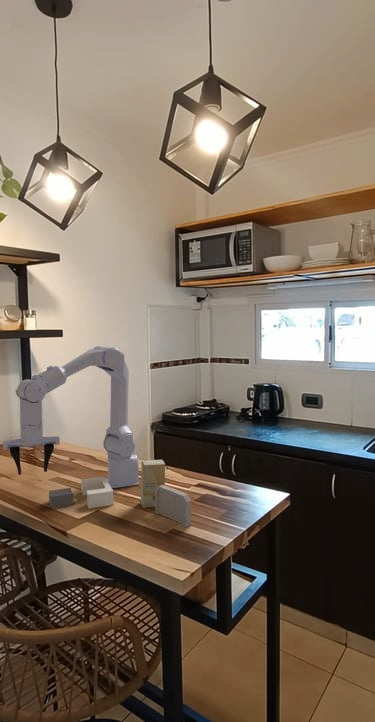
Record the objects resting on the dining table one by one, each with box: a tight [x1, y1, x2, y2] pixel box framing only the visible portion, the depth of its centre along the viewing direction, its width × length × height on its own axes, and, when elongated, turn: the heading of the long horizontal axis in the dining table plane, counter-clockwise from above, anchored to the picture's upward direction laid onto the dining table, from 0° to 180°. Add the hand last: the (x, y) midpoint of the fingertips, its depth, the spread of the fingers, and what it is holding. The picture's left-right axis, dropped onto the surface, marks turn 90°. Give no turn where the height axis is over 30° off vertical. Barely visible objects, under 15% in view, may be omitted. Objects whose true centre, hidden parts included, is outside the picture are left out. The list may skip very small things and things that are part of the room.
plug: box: [48, 487, 78, 509], centre depth 127 cm, size 7×5×4 cm
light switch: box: [154, 484, 192, 528], centre depth 117 cm, size 2×12×8 cm, turn 45°
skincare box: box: [140, 459, 166, 508], centre depth 126 cm, size 6×4×12 cm
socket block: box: [80, 476, 115, 509], centre depth 131 cm, size 7×13×4 cm, turn 22°
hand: (32, 472), depth 124 cm, fingers open, 6 cm apart
